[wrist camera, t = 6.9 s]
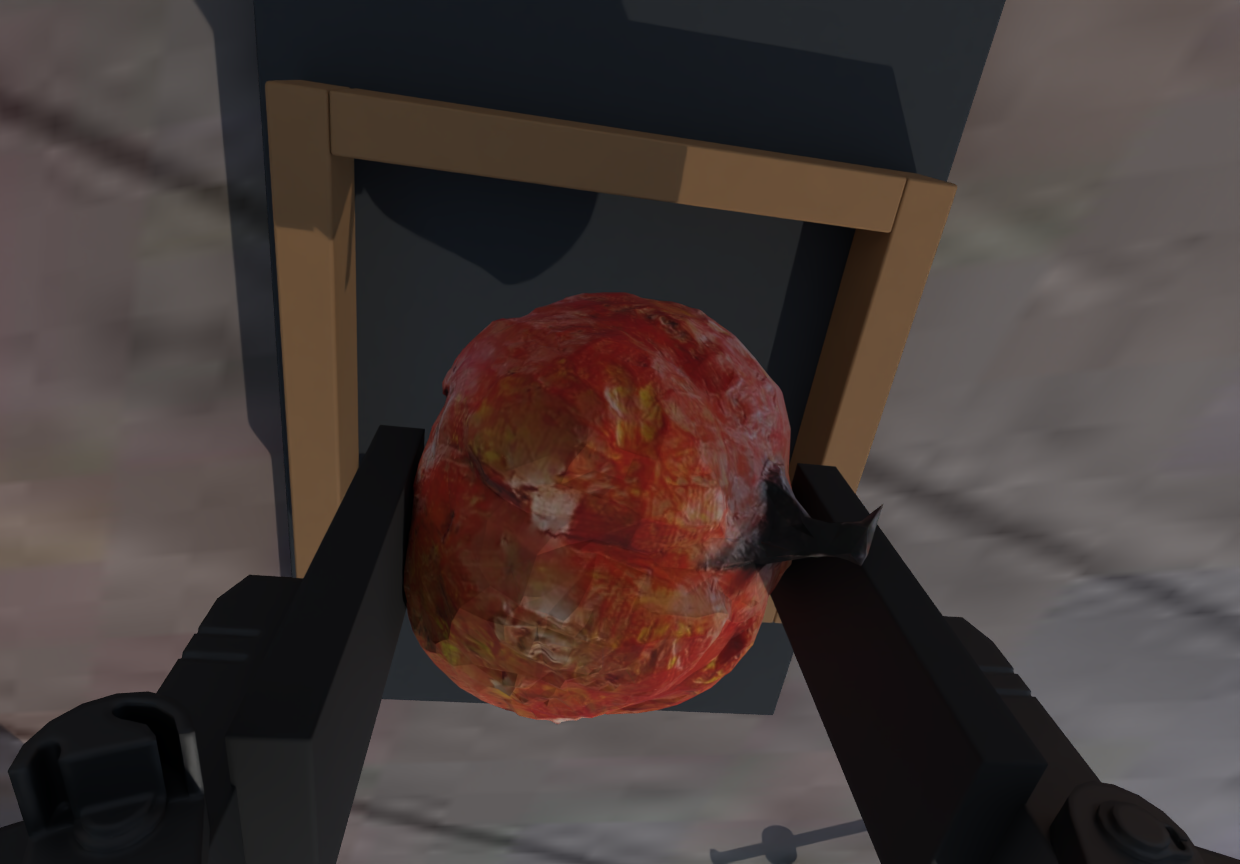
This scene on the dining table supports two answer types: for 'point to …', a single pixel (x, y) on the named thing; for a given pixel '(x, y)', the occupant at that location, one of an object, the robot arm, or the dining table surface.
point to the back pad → (600, 210)
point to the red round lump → (605, 510)
